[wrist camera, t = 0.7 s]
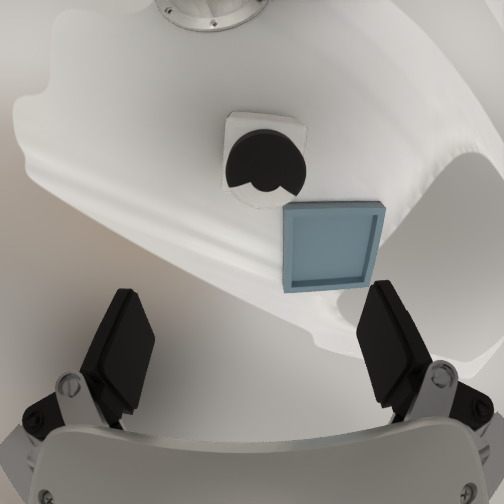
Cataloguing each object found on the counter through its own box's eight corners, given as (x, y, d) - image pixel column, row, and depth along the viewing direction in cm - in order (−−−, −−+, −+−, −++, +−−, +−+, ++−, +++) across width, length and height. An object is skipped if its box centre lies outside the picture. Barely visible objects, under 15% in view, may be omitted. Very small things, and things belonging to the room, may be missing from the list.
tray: (283, 202, 33) (285, 209, 32) (379, 201, 33) (386, 207, 31) (282, 284, 40) (284, 293, 39) (364, 278, 40) (368, 286, 38)
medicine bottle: (231, 110, 27) (219, 123, 17) (295, 117, 27) (323, 135, 17) (226, 170, 31) (214, 216, 21) (287, 176, 31) (306, 224, 21)
